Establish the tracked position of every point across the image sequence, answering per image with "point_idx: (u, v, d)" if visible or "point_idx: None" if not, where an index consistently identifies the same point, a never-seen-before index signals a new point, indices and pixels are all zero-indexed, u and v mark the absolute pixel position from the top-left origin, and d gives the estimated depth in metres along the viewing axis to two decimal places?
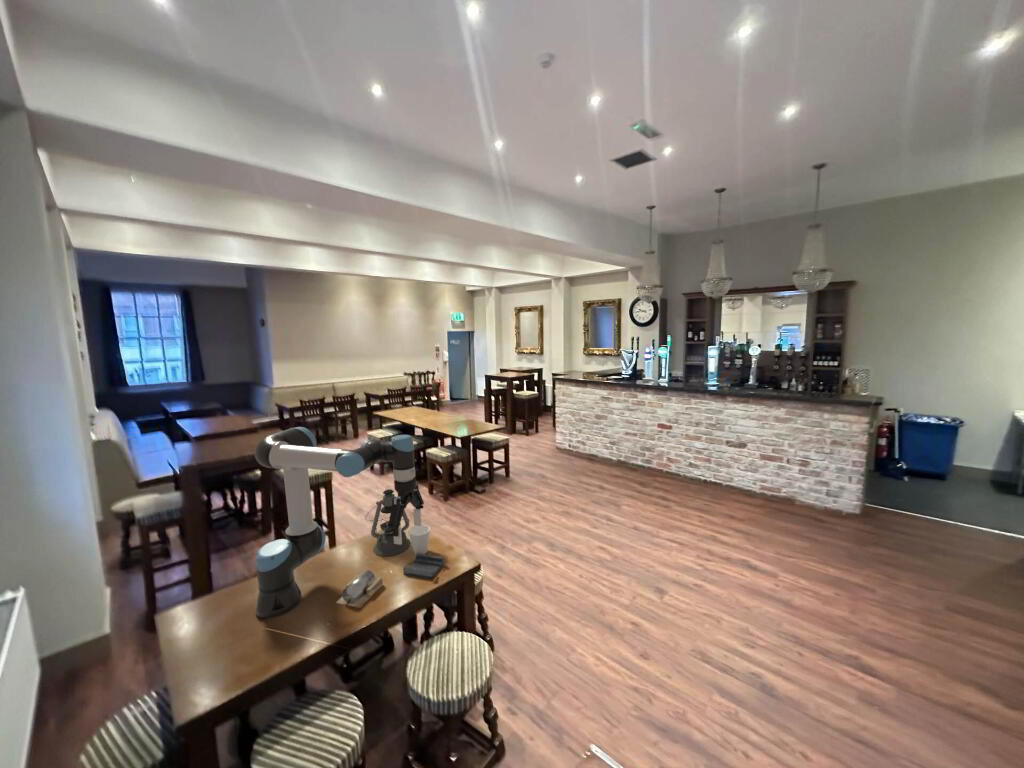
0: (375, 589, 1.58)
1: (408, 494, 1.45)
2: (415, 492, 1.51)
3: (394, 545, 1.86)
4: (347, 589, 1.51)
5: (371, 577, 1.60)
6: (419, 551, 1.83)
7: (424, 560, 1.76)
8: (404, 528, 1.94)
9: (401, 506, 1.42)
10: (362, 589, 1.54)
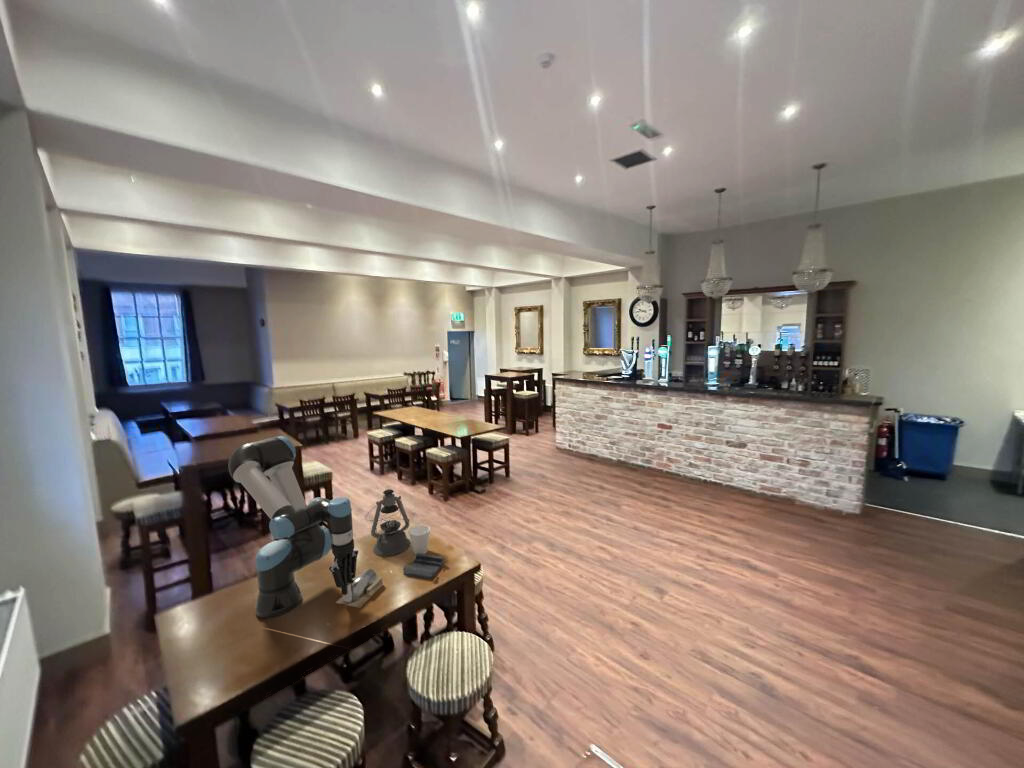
0: (375, 589, 1.58)
1: (346, 556, 1.48)
2: (352, 558, 1.52)
3: (394, 545, 1.86)
4: None
5: (373, 576, 1.61)
6: (419, 551, 1.83)
7: (424, 560, 1.76)
8: (404, 528, 1.94)
9: (342, 569, 1.47)
10: (364, 587, 1.55)
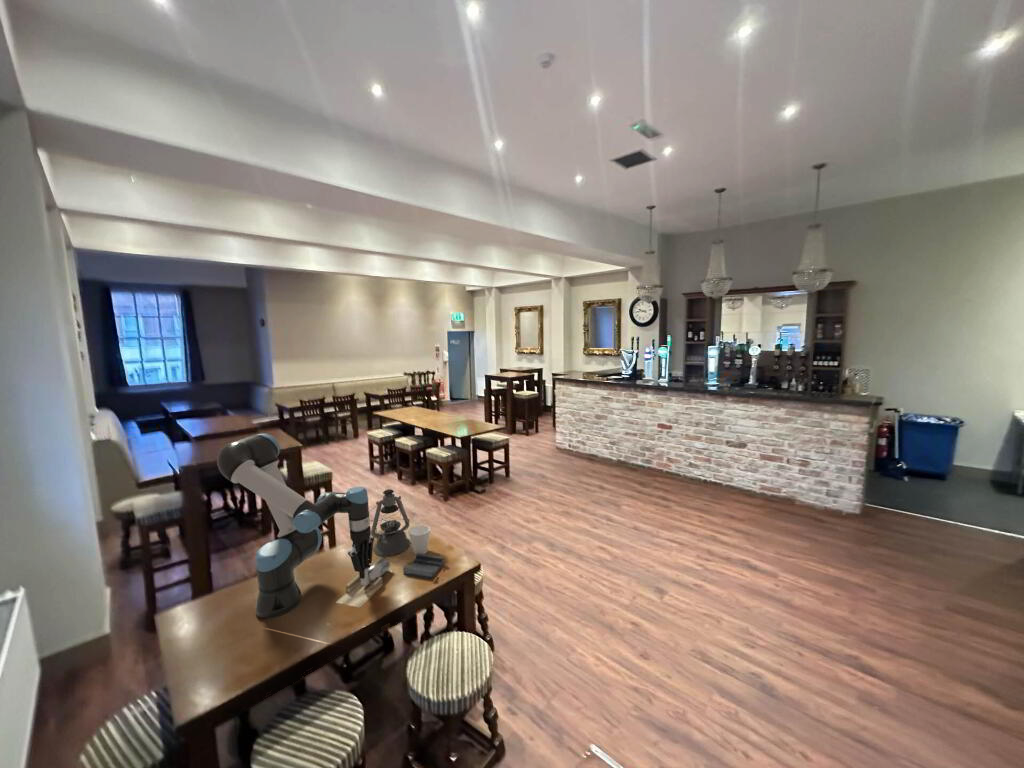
0: (375, 589, 1.58)
1: (363, 542, 1.57)
2: (369, 544, 1.61)
3: (394, 545, 1.86)
4: None
5: (386, 564, 1.70)
6: (419, 551, 1.83)
7: (424, 560, 1.76)
8: (404, 528, 1.94)
9: (360, 554, 1.56)
10: (379, 574, 1.64)
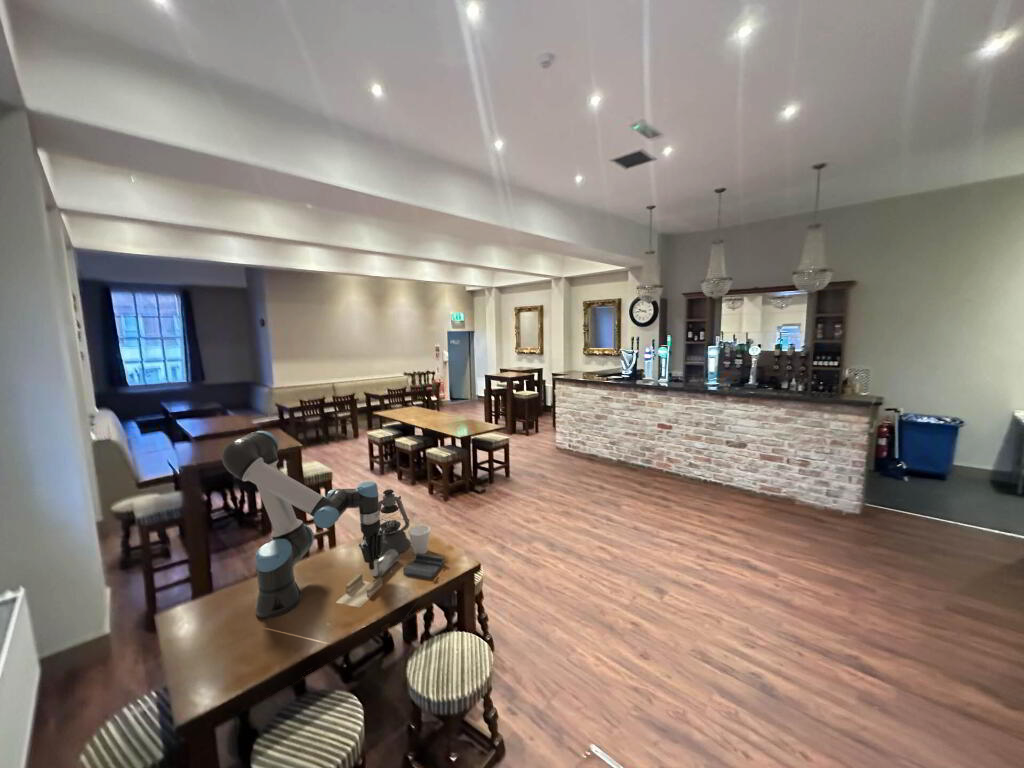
0: (375, 589, 1.58)
1: (373, 534, 1.63)
2: (378, 537, 1.68)
3: (394, 545, 1.86)
4: None
5: (395, 555, 1.76)
6: (419, 551, 1.83)
7: (424, 560, 1.76)
8: (404, 528, 1.94)
9: (370, 546, 1.62)
10: (388, 565, 1.71)
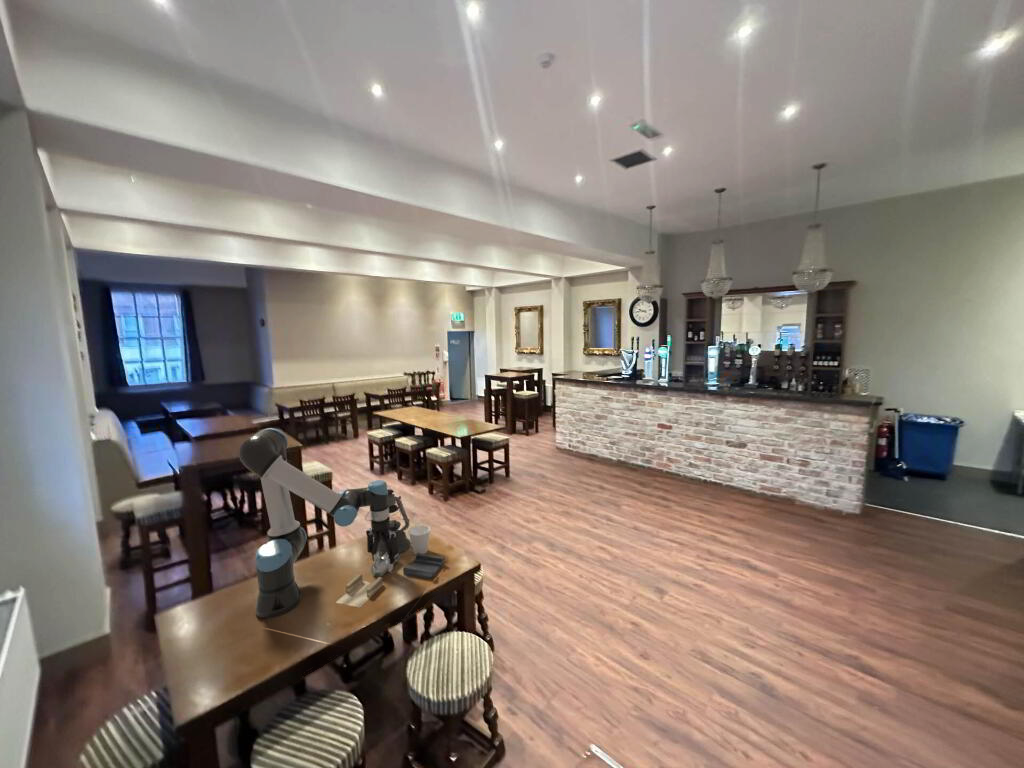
0: (375, 589, 1.58)
1: (379, 532, 1.69)
2: None
3: None
4: (375, 565, 1.67)
5: None
6: (419, 551, 1.83)
7: (424, 560, 1.76)
8: (404, 528, 1.94)
9: None
10: None
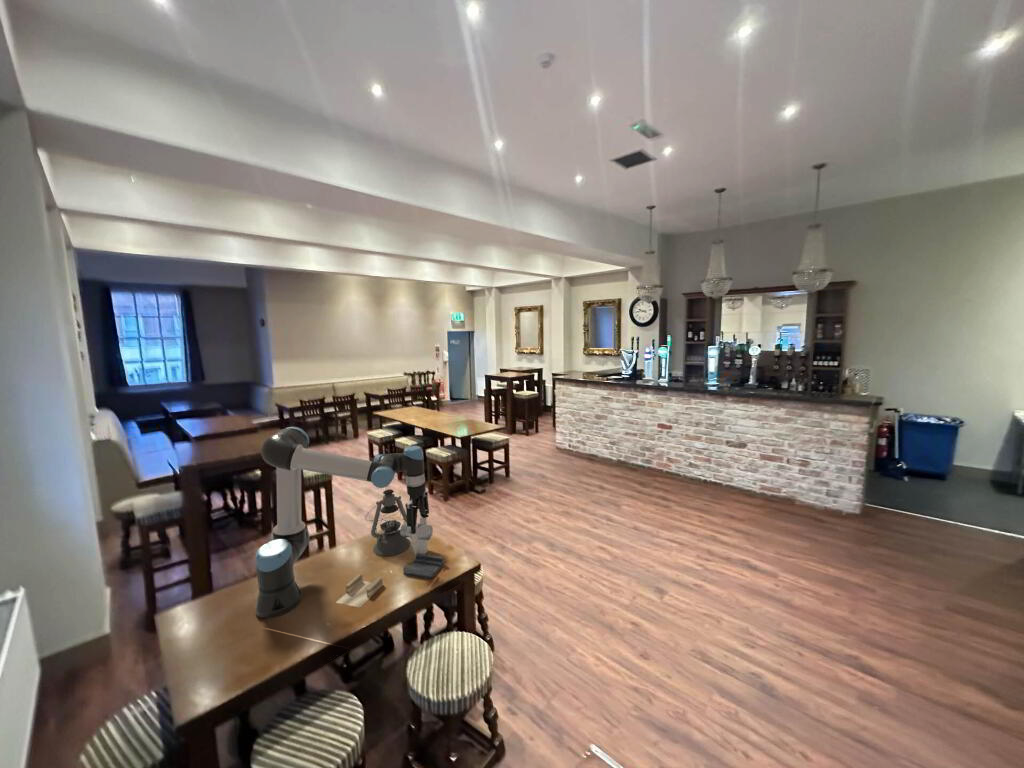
0: (375, 589, 1.58)
1: (419, 497, 1.68)
2: (424, 498, 1.73)
3: (394, 545, 1.86)
4: (428, 527, 1.68)
5: None
6: (419, 551, 1.83)
7: (424, 560, 1.76)
8: None
9: (414, 508, 1.66)
10: None
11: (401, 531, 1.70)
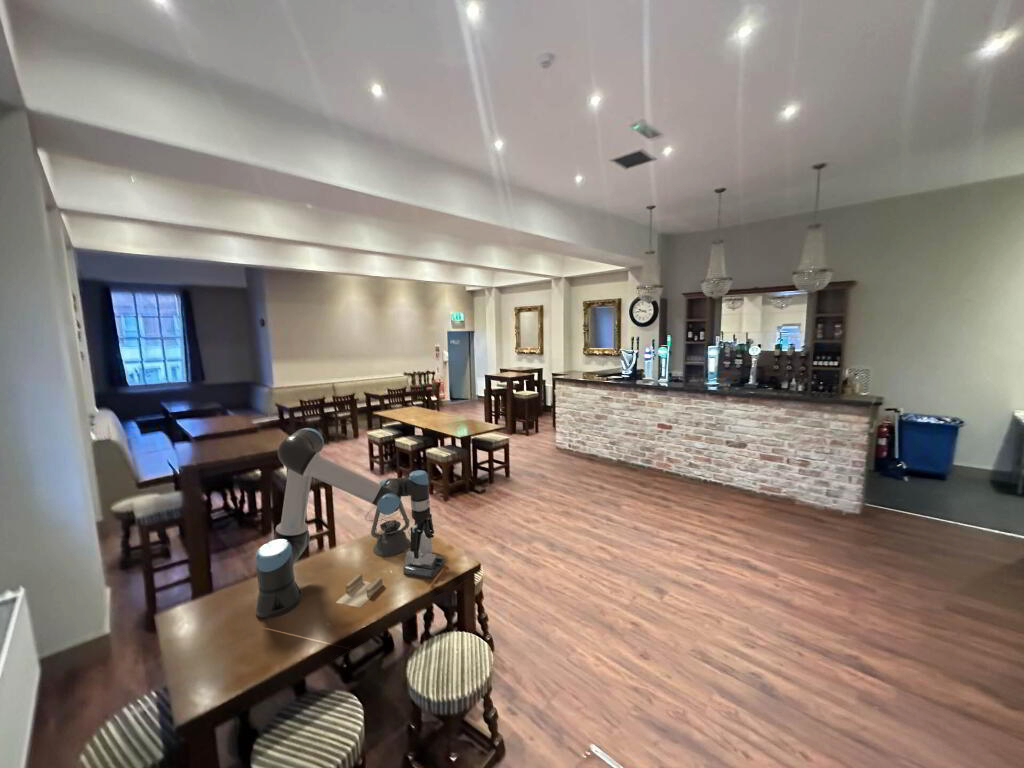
0: (375, 589, 1.58)
1: (423, 521, 1.69)
2: (428, 520, 1.75)
3: (394, 545, 1.86)
4: (432, 556, 1.70)
5: None
6: None
7: None
8: (404, 528, 1.94)
9: (418, 532, 1.67)
10: None
11: (406, 560, 1.71)
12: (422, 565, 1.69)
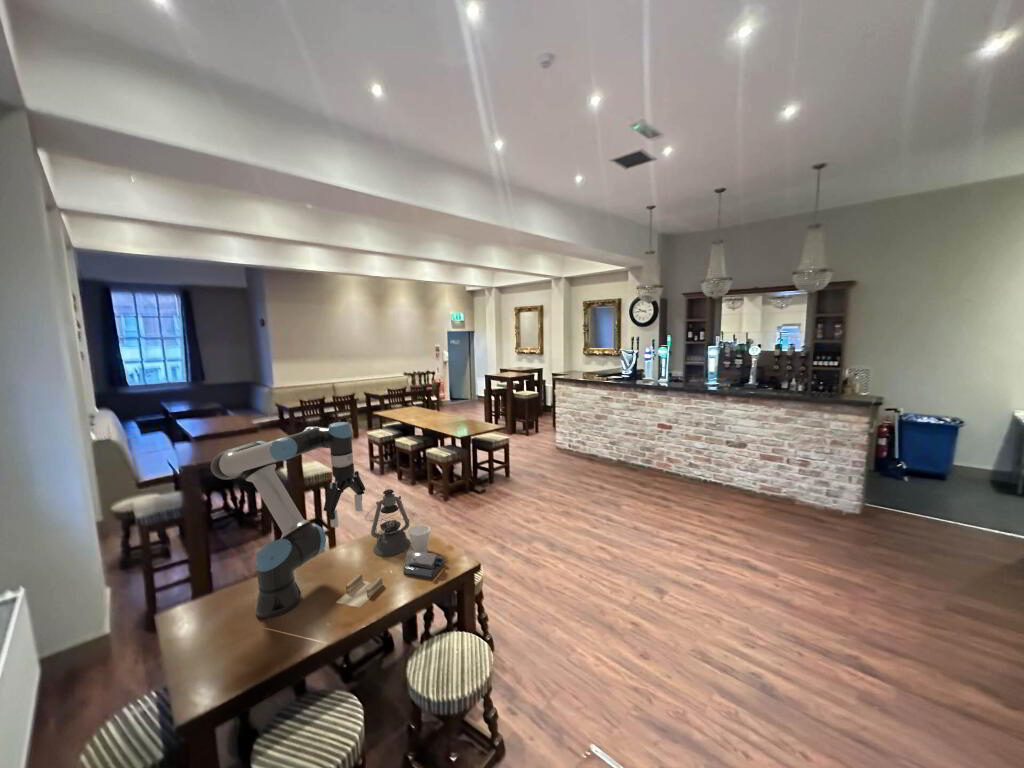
0: (375, 589, 1.58)
1: (346, 479, 1.50)
2: (355, 478, 1.57)
3: (394, 545, 1.86)
4: (433, 556, 1.70)
5: None
6: (419, 551, 1.83)
7: None
8: (404, 528, 1.94)
9: (338, 491, 1.47)
10: None
11: (406, 560, 1.71)
12: (422, 564, 1.69)
